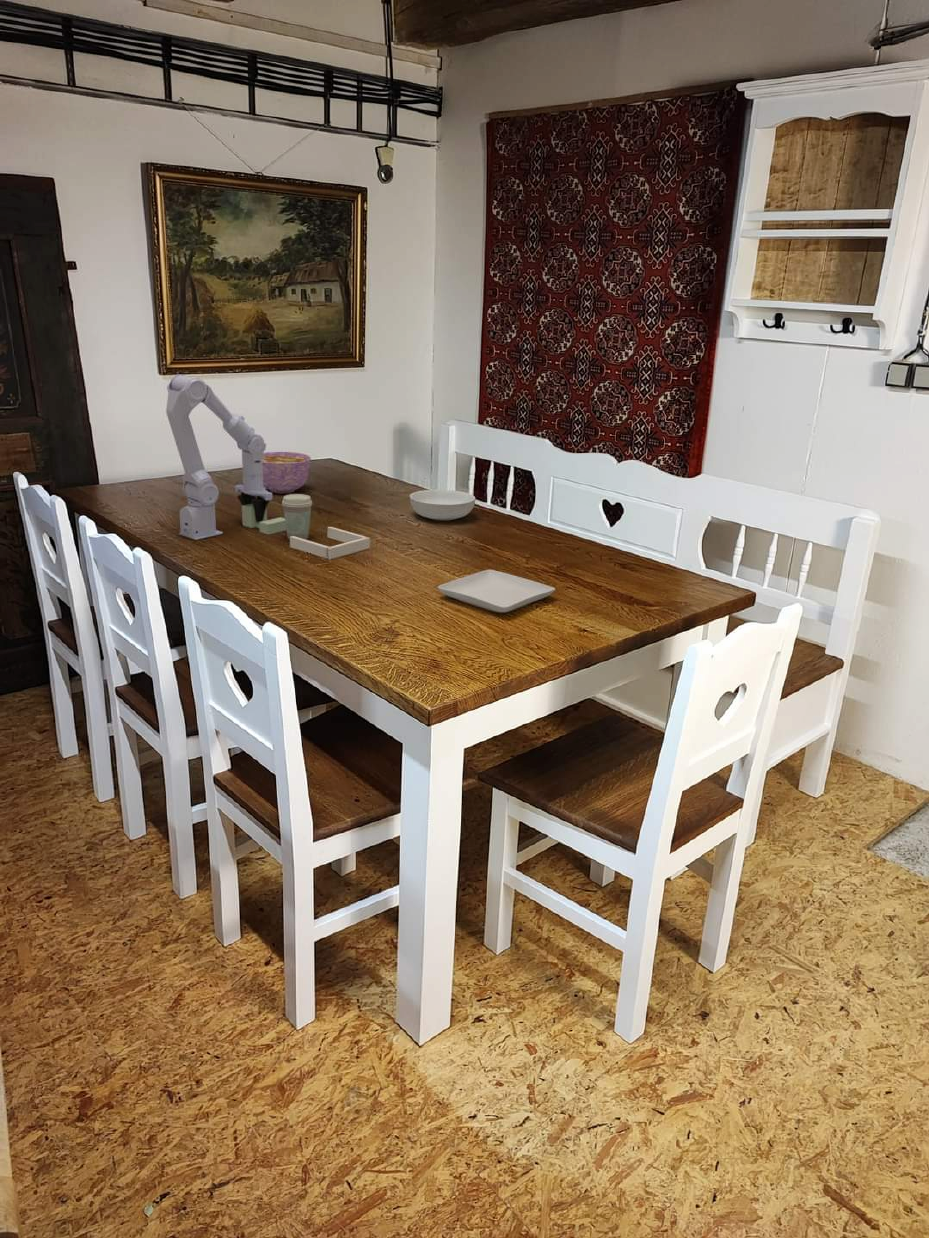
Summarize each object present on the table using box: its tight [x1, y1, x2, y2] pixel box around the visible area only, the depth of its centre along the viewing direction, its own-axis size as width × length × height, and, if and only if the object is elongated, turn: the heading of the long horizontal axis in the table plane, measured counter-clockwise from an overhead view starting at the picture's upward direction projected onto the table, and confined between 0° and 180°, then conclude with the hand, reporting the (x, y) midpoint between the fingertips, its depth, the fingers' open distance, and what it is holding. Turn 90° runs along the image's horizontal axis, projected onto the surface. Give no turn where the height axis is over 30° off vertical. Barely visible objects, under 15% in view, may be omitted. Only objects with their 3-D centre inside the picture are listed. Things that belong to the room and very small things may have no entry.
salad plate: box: [437, 569, 556, 614], centre depth 219 cm, size 21×21×3 cm
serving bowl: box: [409, 489, 476, 522], centre depth 288 cm, size 21×21×7 cm
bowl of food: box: [262, 451, 312, 494], centre depth 311 cm, size 20×20×12 cm
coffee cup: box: [281, 493, 313, 540], centre depth 258 cm, size 9×9×12 cm
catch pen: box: [289, 526, 371, 560], centre depth 252 cm, size 15×16×3 cm
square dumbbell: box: [241, 503, 287, 535], centre depth 267 cm, size 8×13×6 cm, turn 51°
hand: (254, 519), depth 270 cm, fingers closed on square dumbbell, 4 cm apart
